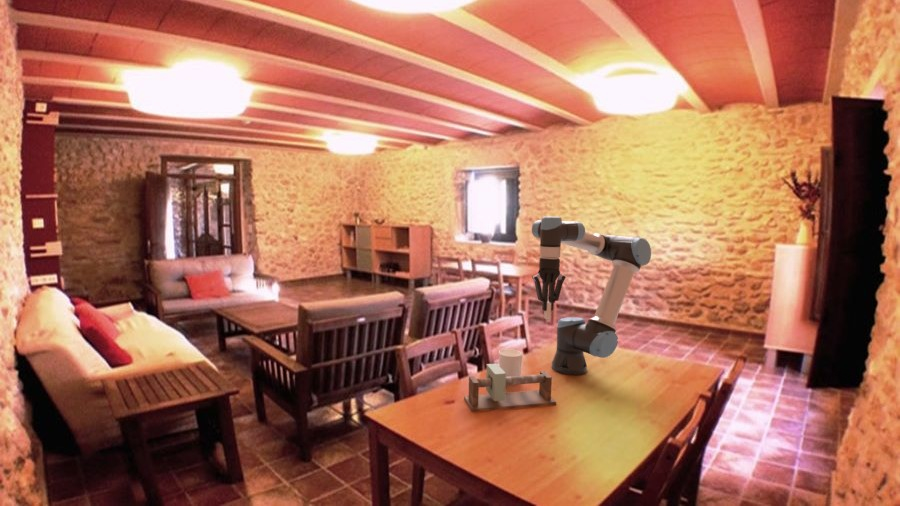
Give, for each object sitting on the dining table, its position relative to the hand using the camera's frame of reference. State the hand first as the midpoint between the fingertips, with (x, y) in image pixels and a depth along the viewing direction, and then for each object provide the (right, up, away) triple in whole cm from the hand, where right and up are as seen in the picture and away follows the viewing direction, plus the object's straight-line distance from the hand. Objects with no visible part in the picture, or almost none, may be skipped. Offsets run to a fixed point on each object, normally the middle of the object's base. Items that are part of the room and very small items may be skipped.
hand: (547, 318), depth 170 cm
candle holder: (-12, -28, +15) cm, 34 cm away
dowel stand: (-15, -30, -5) cm, 34 cm away
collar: (-21, -27, -7) cm, 35 cm away
